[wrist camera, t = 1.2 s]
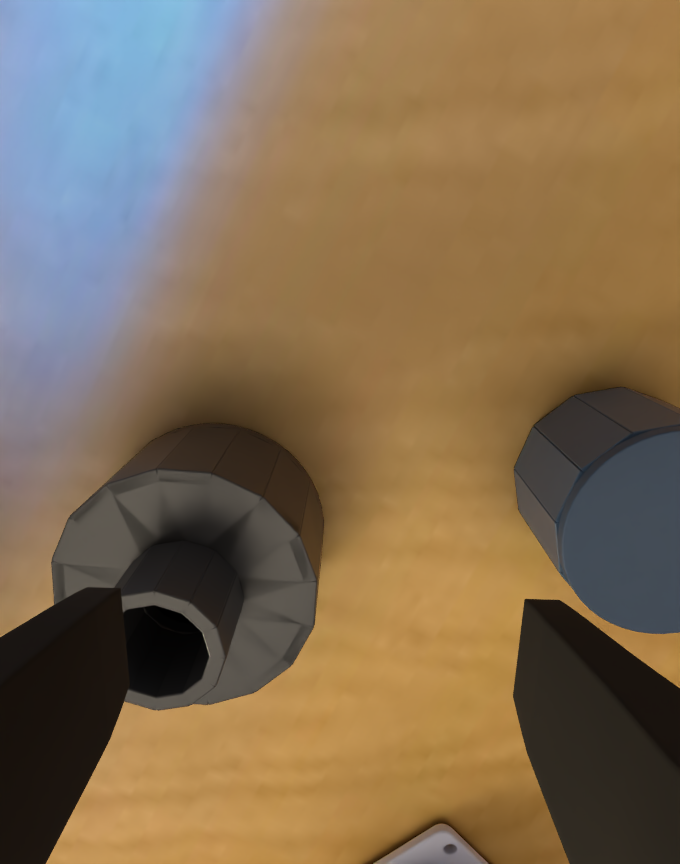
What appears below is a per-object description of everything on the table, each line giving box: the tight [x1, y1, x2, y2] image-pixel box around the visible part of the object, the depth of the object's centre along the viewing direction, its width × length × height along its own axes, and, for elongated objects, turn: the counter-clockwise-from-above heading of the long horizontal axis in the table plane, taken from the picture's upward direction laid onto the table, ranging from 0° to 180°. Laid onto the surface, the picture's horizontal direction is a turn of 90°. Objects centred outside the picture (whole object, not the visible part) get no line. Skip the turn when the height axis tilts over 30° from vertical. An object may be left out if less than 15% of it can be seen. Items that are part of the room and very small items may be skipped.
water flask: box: [51, 423, 324, 710], centre depth 17 cm, size 7×7×7 cm
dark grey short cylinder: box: [514, 387, 680, 634], centre depth 18 cm, size 6×6×5 cm
